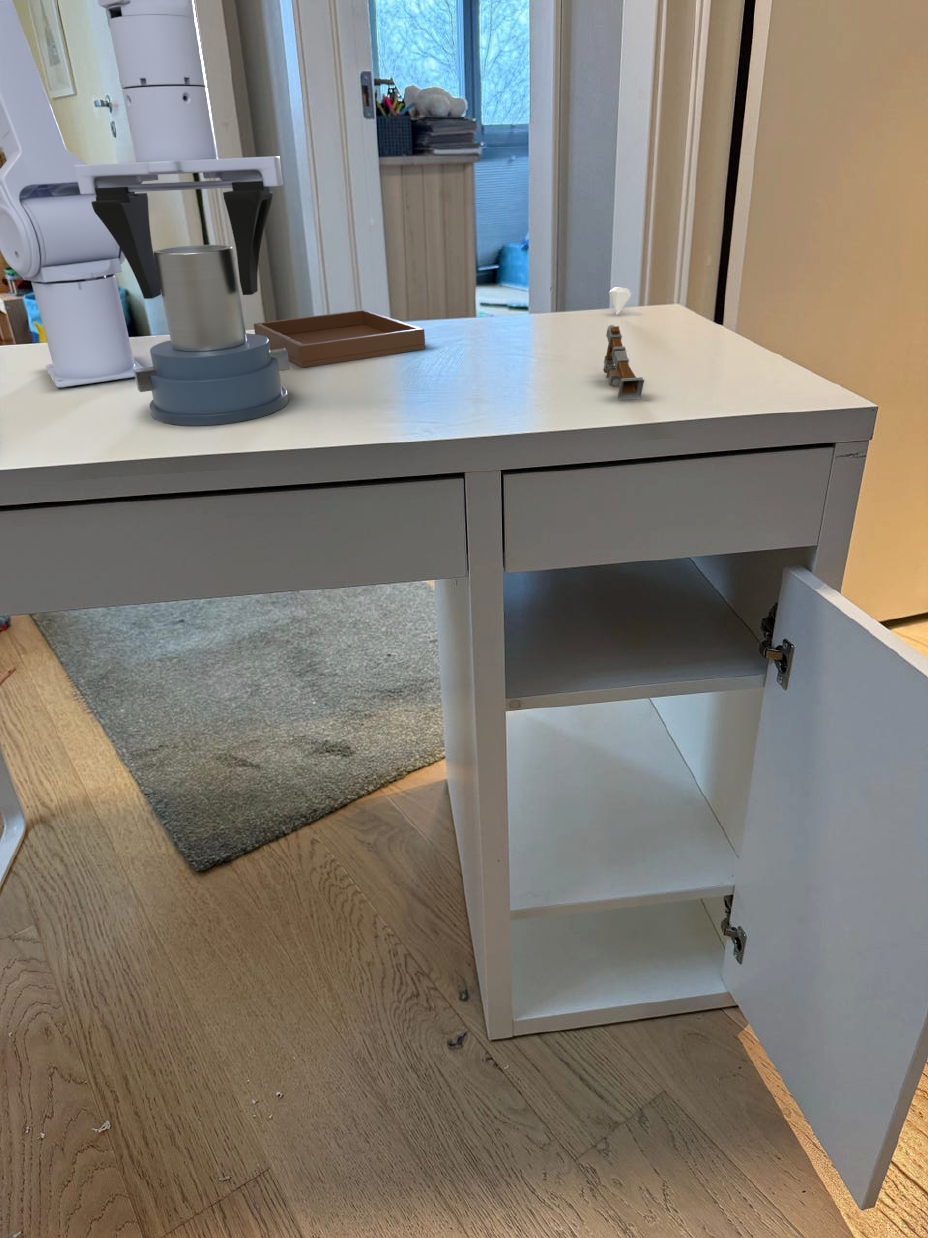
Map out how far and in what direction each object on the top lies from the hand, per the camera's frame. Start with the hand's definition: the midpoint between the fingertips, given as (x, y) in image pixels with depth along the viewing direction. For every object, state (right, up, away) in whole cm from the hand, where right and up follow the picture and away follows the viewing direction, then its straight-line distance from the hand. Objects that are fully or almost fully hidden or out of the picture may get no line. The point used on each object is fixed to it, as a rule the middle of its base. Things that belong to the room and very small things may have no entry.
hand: (201, 294), depth 66 cm
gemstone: (+38, +10, +34) cm, 52 cm away
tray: (+7, +4, +24) cm, 26 cm away
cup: (0, -3, +2) cm, 4 cm away
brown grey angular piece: (+33, -6, +5) cm, 34 cm away
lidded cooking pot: (0, -8, +4) cm, 9 cm away
